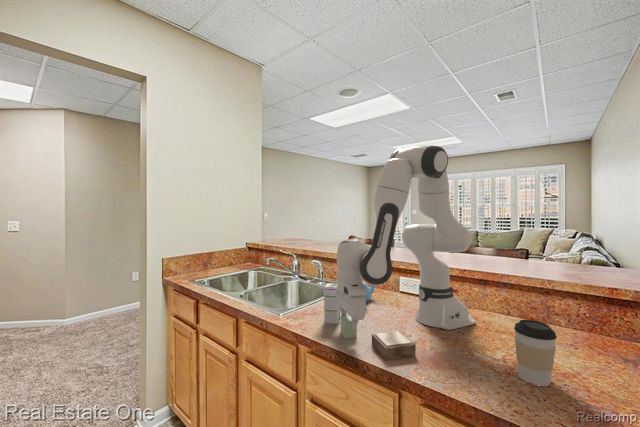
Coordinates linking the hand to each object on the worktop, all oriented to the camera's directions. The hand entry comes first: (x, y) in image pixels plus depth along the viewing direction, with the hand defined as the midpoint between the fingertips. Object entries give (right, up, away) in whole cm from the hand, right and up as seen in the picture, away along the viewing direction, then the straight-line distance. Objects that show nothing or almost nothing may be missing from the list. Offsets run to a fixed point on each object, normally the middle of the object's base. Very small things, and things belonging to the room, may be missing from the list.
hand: (348, 323), depth 102 cm
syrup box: (-5, -5, +14) cm, 16 cm away
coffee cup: (+47, -5, -26) cm, 53 cm away
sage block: (0, -5, +1) cm, 5 cm away
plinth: (+13, -5, -10) cm, 17 cm away
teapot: (+9, -4, +40) cm, 42 cm away
